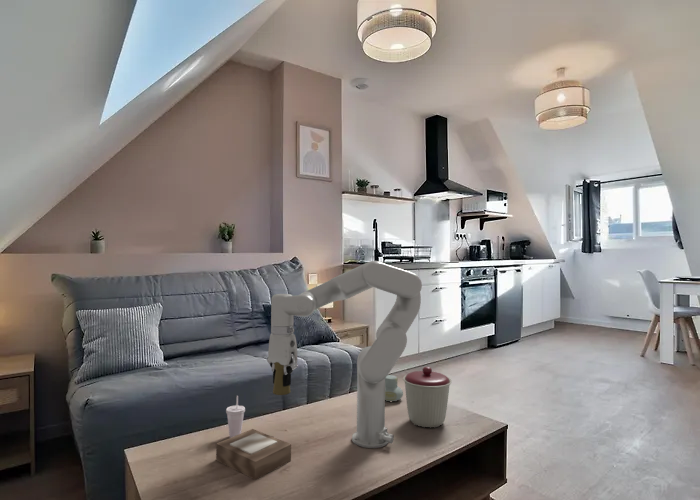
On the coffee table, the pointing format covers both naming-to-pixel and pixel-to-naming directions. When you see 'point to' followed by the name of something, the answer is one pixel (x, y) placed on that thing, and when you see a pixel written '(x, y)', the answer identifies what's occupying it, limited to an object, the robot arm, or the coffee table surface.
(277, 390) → the cork
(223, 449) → the pedestal
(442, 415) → the canister
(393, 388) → the air freshener
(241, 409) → the smoothie
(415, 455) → the coffee table surface
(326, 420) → the coffee table surface
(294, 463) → the coffee table surface
